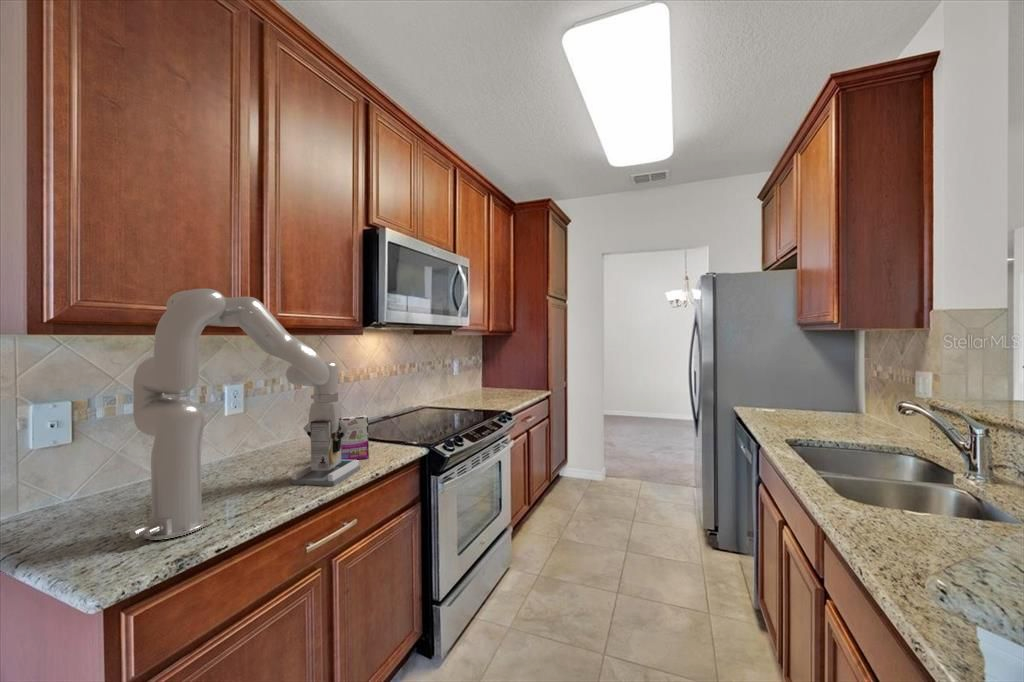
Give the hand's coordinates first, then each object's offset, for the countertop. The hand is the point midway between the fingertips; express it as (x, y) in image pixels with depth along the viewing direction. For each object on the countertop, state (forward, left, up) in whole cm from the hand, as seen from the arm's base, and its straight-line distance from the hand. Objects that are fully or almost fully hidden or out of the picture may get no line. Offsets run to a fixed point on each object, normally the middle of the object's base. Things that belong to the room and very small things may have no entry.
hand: (326, 450), depth 137 cm
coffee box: (0, 0, -6) cm, 6 cm away
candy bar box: (+20, +2, -9) cm, 22 cm away
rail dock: (0, 0, -9) cm, 9 cm away
